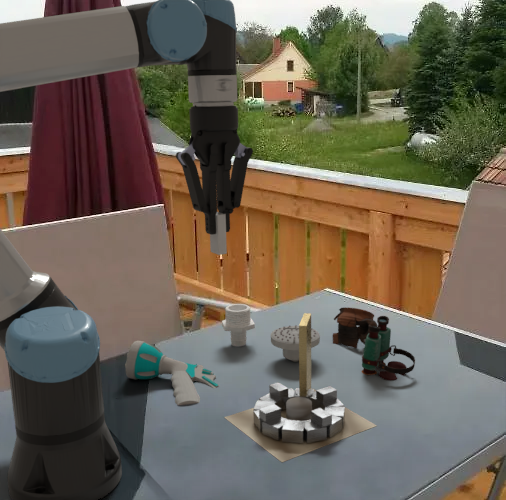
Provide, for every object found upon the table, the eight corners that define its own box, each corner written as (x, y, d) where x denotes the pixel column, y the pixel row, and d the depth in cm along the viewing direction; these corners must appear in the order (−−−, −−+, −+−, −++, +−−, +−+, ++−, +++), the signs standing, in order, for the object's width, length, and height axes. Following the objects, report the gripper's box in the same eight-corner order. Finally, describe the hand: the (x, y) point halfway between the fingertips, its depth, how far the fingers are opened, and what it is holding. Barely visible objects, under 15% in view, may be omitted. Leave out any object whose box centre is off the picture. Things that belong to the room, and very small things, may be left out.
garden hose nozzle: (235, 385, 112) (214, 333, 130) (130, 389, 108) (123, 334, 126) (231, 422, 114) (211, 365, 133) (129, 427, 110) (122, 368, 128)
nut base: (282, 469, 93) (281, 441, 92) (224, 424, 106) (223, 398, 105) (376, 432, 103) (377, 406, 102) (313, 394, 116) (313, 371, 115)
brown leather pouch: (319, 342, 141) (327, 305, 143) (352, 353, 146) (359, 316, 148) (358, 345, 131) (366, 304, 133) (392, 356, 136) (398, 317, 138)
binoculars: (411, 340, 114) (357, 325, 119) (403, 395, 117) (351, 378, 122) (427, 324, 121) (375, 310, 126) (419, 376, 124) (369, 361, 129)
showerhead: (268, 339, 122) (272, 320, 132) (269, 375, 124) (272, 354, 134) (319, 340, 121) (319, 321, 131) (319, 376, 123) (319, 355, 133)
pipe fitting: (216, 344, 140) (214, 308, 138) (241, 335, 144) (240, 300, 143) (235, 352, 135) (234, 315, 133) (261, 343, 140) (260, 307, 138)
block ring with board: (340, 446, 96) (341, 356, 93) (246, 438, 99) (243, 350, 96) (348, 393, 113) (349, 315, 109) (267, 387, 116) (266, 311, 112)
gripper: (187, 106, 96) (194, 263, 102) (262, 103, 103) (264, 251, 108) (164, 105, 102) (172, 254, 108) (236, 103, 109) (240, 242, 115)
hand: (218, 252), depth 108 cm, fingers closed
